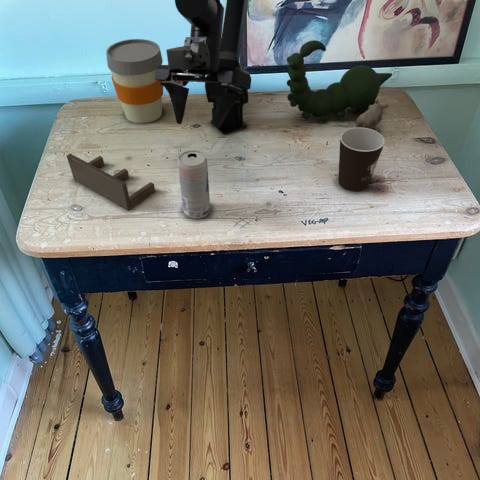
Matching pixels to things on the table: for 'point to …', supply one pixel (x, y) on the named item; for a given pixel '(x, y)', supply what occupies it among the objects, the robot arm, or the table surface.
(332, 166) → the table surface
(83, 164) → the brown legged board
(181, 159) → the energy drink
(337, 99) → the toy figurine
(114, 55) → the reusable coffee cup
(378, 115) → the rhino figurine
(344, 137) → the coffee mug
